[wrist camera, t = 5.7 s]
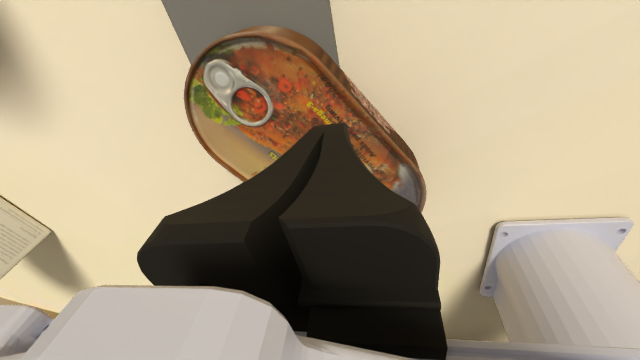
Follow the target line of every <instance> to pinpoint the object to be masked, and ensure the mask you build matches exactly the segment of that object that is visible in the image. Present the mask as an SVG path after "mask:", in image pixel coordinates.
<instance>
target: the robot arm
mask: <svg viewBox="0 0 640 360" xmlns="http://www.w3.org/2000/svg"><path fill="white" fill-rule="evenodd" d="M633 225H634V222H633V221H632V220H631V219H630V218H627V217H616V218H589V219H561V220H534V221H506V222H500V223H498V224H497V225H496V228H495V232H494V235H493V239H492V243H491V247H490V251H489V255H488V259H487V262H486V266H485V270H484V274H483V278H482V282H481V286H480V289H479V292H480V295H481V296H484V297H493V298H494V301H495V304H496V306H497V309H498V312H499V315H500V317H501V320H502V323H503V325H504V328H505V331H506V334H507V336H508V339H509V342H499V341H479V340H459V339H446V337H445V332H444V327H443V322H442V317H441V312H440V310H441V302H440V297H439V292H438V280H439V270H440V255H439V251H438V247H437V244H436V242H435V239H434V237H433V235H432V233H431V230H430V228H429V226H428V225H427V223H426V221H425V219H424V217H423V216H422V214H421V212H420V210H419V209H418V207H417V206H416V205H415V204H414V203H412V202H411V201H409V200H407V199H405V198H403V197H402V196H400V195H398V194H396V193H394V192H393V191H392V190H390V189H389V188H388V187H386V186H385V185H384V184H383V183H382V182H381V181H380V180H378V179H377V178H376V177H375V176H374V175H373V174H372V173H371V172H370V171H369V170H368V168H367V167H366V166H365V165H364V163H363V162H362V161H361V159H360V158H359V156H358V155H357V153H356V151H355V150H354V148H353V146H352V144H351V141H350V137H349V130H348V125H347V124H346V123H345V122H344V123H336V124H328V125H319V126H314V127H312V128H311V129H310V130H309V131H308V132H307V133H306V134H305V135H304V136H303V137H302V138H301V139H299V140H298V141H297V142H296V143H295V144H294V145H293V146H292V147H291V148H290V149H289V150H288V151H286V152H285V153H284V154H283V155H282V156H281V157H279V158H278V159H277V160H276V161H275V162H273V163H272V164H271V165H270V166H268V167H267V168H265V169H264V170H263V171H261V172H260V173H258V174H257V175H255V176H254V177H252V178H250V179H249V180H247V181H245V182H243V183H242V184H240V185H238V186H236V187H235V188H233V189H231V190H229V191H227V192H225V193H223V194H221V195H219V196H217V197H214V198H212V199H210V200H208V201H205V202H203V203H201V204H198V205H195V206H193V207H190V208H187V209H185V210H182V211H179V212H176V213H174V214H171V215H168V216H165V217H164V218H163V219H162V221H161V222H160V223H159V225H158V226H157V227H156V229H155V230H154V231H153V233H152V234H151V235H150V237H149V238H148V239H147V241H146V242H145V243H144V245H143V246H142V247H141V249H140V250H139V251H138V254H137V261H138V264H139V267H140V269H141V271H142V272H143V274H144V275H145V276H146V277H147V279H148V280H149V281H150V282H151V283H152V284H153V285H154V286H138V285H102V286H98V287H93V288H89V289H85V290H81V291H78V293H77V294H76V295H75V296H74V297H73V298H72V300H71V301H70V302H69V303H68V304H67V305H66V307H65V308H64V309H63V310H62V311H61V312H60V314H59V315H58V316H57V317H56V318H55V319H52V318H51V316H49V315H48V314H47V313H45V312H43V311H42V310H40V309H38V308H35V307H33V306H28V305H10V304H9V305H8V304H3V305H0V360H640V282H639V280H638V279H637V278H636V277H635V276H634V274H633V273H632V272H631V271H630V270H629V268H628V267H627V266H626V265H625V264H624V262H623V261H622V260H621V259H620V257H619V256H618V255H617V254H616V253H615V252H616V250H617V249H618V247H619V246H620V245H621V243H622V242H623V240H624V239H625V237H626V236H627V234H628V233H629V231H630V230H631V228H632V227H633Z"/></svg>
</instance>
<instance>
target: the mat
mask: <svg viewBox="0 0 640 360" xmlns="http://www.w3.org/2000/svg"><path fill="white" fill-rule="evenodd" d="M161 1H162V3H163V5H164V7H165V9H166V12H167V14H168V16H169V18H170V20H171V22H172V25H173V27H174V29H175V31H176V33H177V35H178V38H179V40H180V42H181V44H182V46H183V48H184V51H185V53H186V55H187V57H188V59H189V61H190V64H191V65H192V64H193V62H194V61H195V59H196V58H197V56H198V55H199V54H200V53H201V52H202V50H203V49H205V48H206V47H207V46H208V45H210V44H211V43H213V42H215V41H216V40H218V39H220V38H222V37H225V36H227V35H231V34H233V33H235V32H238V31H240V30H243V29H246V28H250V27H254V26H278V27H283V28H287V29H291V30H294V31H296V32H298V33H301V34H303V35H305V36H306V37H308V38H310V39H311V40H313V41H314V42H315V43H317V44H318V45H319V46H320V47H321V48H322V49H323V50H324V51H325V52H326V53H327V54H328V55H329V56H330V57H331V58H332V59H333V61H334V62H335V63H336V64H337V65H338V66H339V60H338V53H337V47H336V40H335V34H334V27H333V21H332V14H331V8H330V1H329V0H161ZM339 68H340V67H339Z"/></svg>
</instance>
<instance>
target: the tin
mask: <svg viewBox="0 0 640 360" xmlns="http://www.w3.org/2000/svg"><path fill="white" fill-rule="evenodd" d="M184 102H185V109H186V114H187V118H188V121H189V123H190V126H191V128H192V130H193V132H194V134H195V136H196V137H197V139H198V141H199V142H200V144H201V145H202V146H203V148H204V149H205V150H206V151H207V152H208V154H209V155H210V156H211V157H212V158H213V159H214V160H215V161H216V162H218V163H219V164H220V165H222V166H223V167H224V168H225V169H227V170H228V171H229V172H231V173H232V174H234V175H235V176H236V177H238V178H239V179H240V180H242V181H243V182H245V181H247V180H249V179H250V178H252V177H254V176H255V175H257V174H258V173H260V172H261V171H263V170H264V169H265V168H267V167H268V166H270V165H271V164H272V163H273V162H275V161H276V160H277V159H278V158H279V157H281V156H282V155H283V154H284V153H285V152H286V151H288V150H289V149H290V148H291V147H292V146H293V145H294V144H295V143H296V142H297V141H298V140H299V139H301V138H302V137H303V136H304V135H305V134H306V133H307V132H308V131H309V130H310V129H311V128H312V127H314V126H319V125H328V124H336V123H344V122H345V123H346V124H347V125H348V130H349V137H350V141H351V144H352V146H353V148H354V150H355V151H356V153H357V155H358V156H359V158H360V159H361V161H362V162H363V163H364V165H365V166H366V167H367V168H368V170H369V171H370V172H371V173H372V174H373V175H374V176H375V177H376V178H377V179H378V180H380V181H381V182H382V183H383V184H384V185H385V186H386V187H388V188H389V189H390V190H392V191H393V192H394V193H396V194H398V195H400V196H402V197H403V198H405V199H407V200H409V201H411V202H412V203H414V204H415V205H416V206H417V207H418V209H419V210H420V212H422V210H423V208H424V205H425V201H426V186H425V182H424V179H423V176H422V174H421V172H420V171H419V167H418V163H417V161H416V158H415V156H414V154H413V152H412V151H411V149H410V148H409V147H408V145H407V144H406V143H405V142H404V140H403V139H402V138H401V137H400V136H399V135H398V134H397V133H396V131H395V130H394V129H393V128H392V127H391V126H390V125H389V124H388V122H387V121H386V120H385V119H384V118H383V117H382V116H381V115H380V113H379V112H378V111H377V110H376V109H375V108H374V107H373V105H372V104H371V103H370V102H369V101H368V100H367V99H366V98H365V96H364V95H363V94H362V93H361V92H360V91H359V89H358V88H357V87H356V86H355V85H354V84H353V83H352V81H351V80H350V79H349V78H348V77H347V76H346V74H345V73H344V72H343V71H342V70H341V69H340V68H339V66H338V65H337V64H336V63H335V62H334V61H333V59H332V58H331V57H330V56H329V55H328V54H327V53H326V52H325V51H324V50H323V49H322V48H321V47H320V46H319V45H318V44H317V43H315V42H314V41H313V40H311V39H310V38H308V37H306V36H305V35H303V34H301V33H298V32H296V31H294V30H291V29H287V28H283V27H278V26H254V27H250V28H246V29H243V30H240V31H238V32H235V33H233V34H231V35H227V36H225V37H222V38H220V39H218V40H216V41H215V42H213V43H211V44H210V45H208V46H207V47H206V48H205V49H203V50H202V52H201V53H200V54H199V55H198V56H197V58H196V59H195V61H194V62H193V64H192V65H191V67H190V70H189V72H188V75H187V78H186V82H185V89H184Z"/></svg>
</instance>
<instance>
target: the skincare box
mask: <svg viewBox="0 0 640 360" xmlns="http://www.w3.org/2000/svg"><path fill="white" fill-rule="evenodd" d="M50 233H51V230H49V229H48V228H46V227H45V226H43V225H42V224H40V223H39V222H37V221H36V220H34V219H33V218H31V217H30V216H28V215H27V214H25V213H24V212H22V211H21V210H19V209H18V208H16V207H15V206H13V205H12V204H10V203H9V202H7V201H6V200H4V199H3V198H1V197H0V279H1V278H2V277H3V276H5V275H6V274H7V273H8V272H9V271H10V270H11V269H12V268H13V267H14V266H15V265H17V264H18V263H19V262H20V261H21V260H22V259H23V258H24V257H25V256H26V255H27V254H28V253H30V252H31V251H32V250H33V249H34V248H35V247H36V246H37V245H38V244H39V243H40V242H42V241H43V240H44V239H45V238H46V237H47V236H48V235H49V234H50Z"/></svg>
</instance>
